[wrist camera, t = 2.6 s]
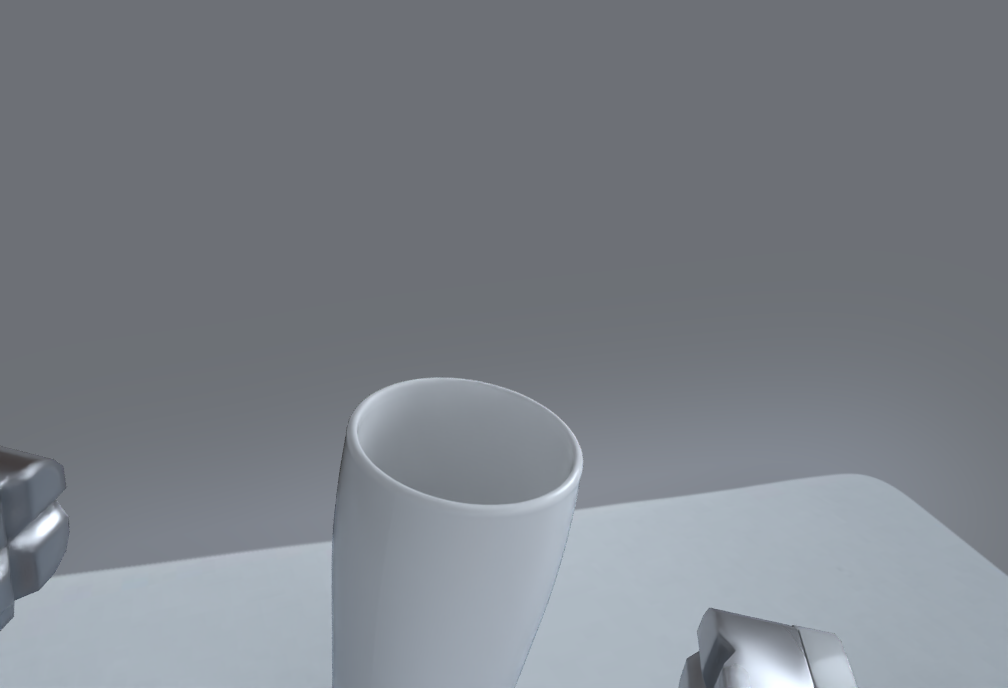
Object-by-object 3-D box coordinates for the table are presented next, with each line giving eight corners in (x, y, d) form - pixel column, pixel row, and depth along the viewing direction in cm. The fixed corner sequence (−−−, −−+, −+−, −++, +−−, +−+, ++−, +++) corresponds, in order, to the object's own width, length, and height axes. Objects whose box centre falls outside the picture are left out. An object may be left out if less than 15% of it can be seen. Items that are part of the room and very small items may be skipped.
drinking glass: (311, 902, 24) (356, 517, 18) (301, 714, 30) (333, 371, 24) (518, 865, 27) (626, 509, 20) (472, 695, 32) (544, 376, 26)
